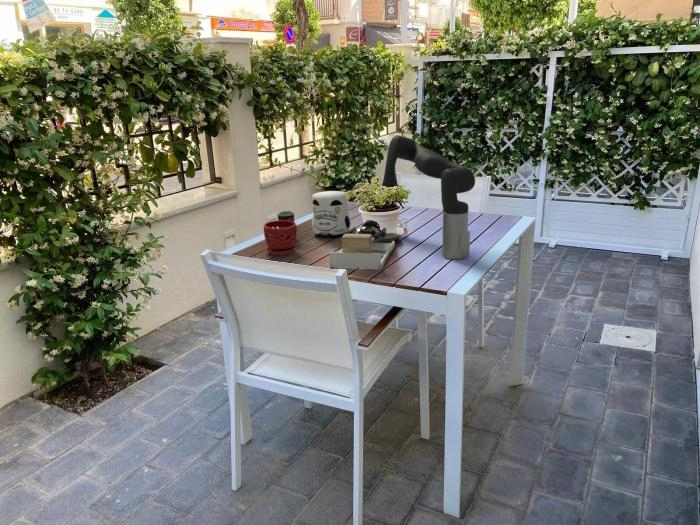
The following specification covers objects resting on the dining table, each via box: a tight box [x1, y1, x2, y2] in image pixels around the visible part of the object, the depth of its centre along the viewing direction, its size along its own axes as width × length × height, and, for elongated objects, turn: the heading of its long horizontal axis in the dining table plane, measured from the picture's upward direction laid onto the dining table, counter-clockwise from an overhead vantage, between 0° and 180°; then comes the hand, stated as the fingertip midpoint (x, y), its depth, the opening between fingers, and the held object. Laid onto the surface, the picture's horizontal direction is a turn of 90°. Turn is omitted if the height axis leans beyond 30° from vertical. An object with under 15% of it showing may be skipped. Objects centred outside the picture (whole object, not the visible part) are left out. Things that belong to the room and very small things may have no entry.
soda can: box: [277, 210, 296, 228], centre depth 233 cm, size 7×7×12 cm
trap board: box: [328, 240, 396, 271], centre depth 208 cm, size 30×19×6 cm, turn 166°
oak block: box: [341, 233, 373, 253], centre depth 197 cm, size 5×10×10 cm, turn 76°
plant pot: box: [263, 219, 298, 256], centre depth 217 cm, size 13×13×12 cm
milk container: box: [311, 190, 352, 238], centre depth 239 cm, size 17×17×18 cm
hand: (364, 237), depth 208 cm, fingers open, 8 cm apart
